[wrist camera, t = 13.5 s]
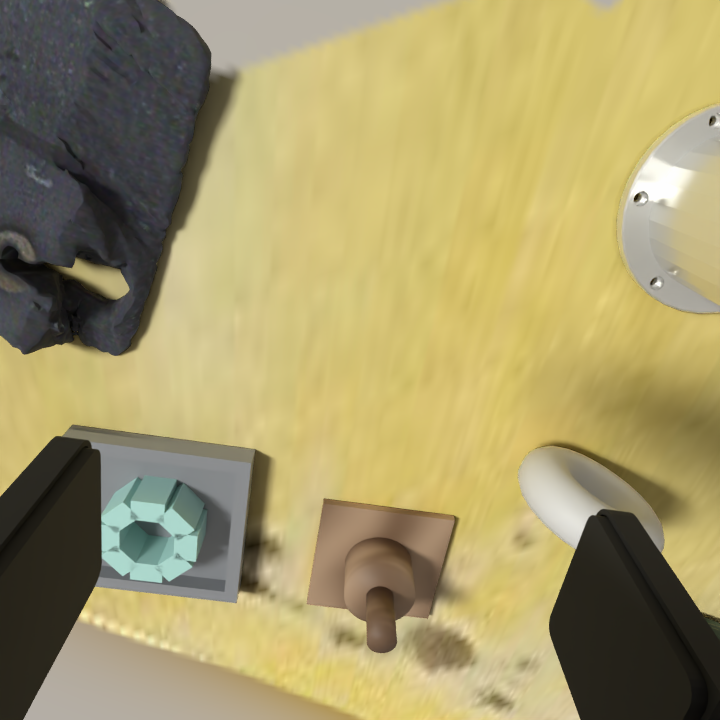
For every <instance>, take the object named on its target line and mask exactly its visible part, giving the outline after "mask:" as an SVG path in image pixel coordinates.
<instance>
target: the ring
mask: <svg viewBox="0 0 720 720" xmlns="http://www.w3.org/2000/svg"><path fill="white" fill-rule="evenodd" d="M176 486H177V479H170V478H162V477H154V476H146V475H145V476H144V478H143V480H142V481H141V480H140V479H139V478H138V477H137V478H135V479H134V480H132V481H131V482H129V483H128V484H127V485H125V486H124V487H122V488H121V489H119V490H118V491H116V492H115V493H114V495H113V497H112V498H111V500H110V501H109V503H108V505H107V506H106V508H105V510H104V511H103V513H102V514H101V526H102V559H104V560H105V561H106V562H107V563H108V564H109V565H110V566H112V567H113V568H114V569H115V570H116V571H117V572H118V573H120V574H121V575H122V576H124V575H125V574H127V573H129V572H130V579H132V580H140V581H149V582H158V583H162V581H163V579H164V577H165V578H166V579H167V580H168V581H171V580H172V579H174V578H176V577H177V576H179V575H180V574H182V573H184V572H185V571H187V570H189V569H190V568H192V567H193V564H194V562H196V560H197V557H198V554H199V552H200V549H201V546H202V543H203V540H204V537H205V534H206V522H207V509H203V507H204V505H205V503H204V502H203V501H202V500H201V499H200V498H199V497H198V496H197V495H196V494H195V493H194V492H193V491H192V490H191V489H190V488H189V487H188V486H187V485H186V484H185V483H183V484H181V485H180V486H178V487H177V488H176ZM135 520H139V521H147V522H155V523H159V524H160V525H161V526H163V527H164V528H165V529H166V530H167V531H168V532H169V533H170V534H171V535H172V536H171V537H161V536H153V535H148V534H147V533H146V532H145V531H144V530H143V529H141V528H140V527H139V526H138V525H137V524H136V523H135V522H134V521H135Z"/></svg>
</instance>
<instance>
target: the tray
mask: <svg viewBox="0 0 720 720" xmlns="http://www.w3.org/2000/svg"><path fill="white" fill-rule="evenodd" d="M62 437H69V438H76V439H84V440H89V441H90V443H91V445H92V449H98V450H99V451H100V454H101V514H102V513H103V511H104V510H105V508H106V506H107V505H108V503H109V501H110V500H111V498H112V497H113V495H114V493H115V492H116V491H118V490H119V489H121V488H122V487H124V486H125V485H127V484H128V483H129V482H131V481H132V480H134V479H135V478H137V477H138V478H139V479H140V480H141V481H142V480H143V478H144V476H145V475H146V476H154V477H162V478H170V479H177V486H176V488H177V487H178V486H180V485H181V484H183V483H185V484H186V485H187V486H188V487H189V488H190V489H191V490H192V491H193V492H194V493H195V494H196V495H197V496H198V497H199V498H200V499H201V500H202V501H203V502H204V503H205V505H204V507H203V509H207V522H206V534H205V537H204V540H203V543H202V546H201V549H200V552H199V554H198V557H197V560H196V562H194V564H193V567H192V568H190V569H189V570H187V571H185V572H184V573H182V574H180V575H179V576H177V577H176V578H174V579H172V580H171V581H168V580H167V579H166V578H165V577H164V579H163V581H162V583H158V582H149V581H140V580H132V579H130V572H129V573H127V574H125V575H124V576H122V575H121V574H120V573H118V572H117V571H116V570H115V569H114V568H113V567H112V566H110V565H109V564H108V563H107V562H106V561H105V560H104V559H102V566H101V571H100V575H99V578H98V581H97V583H96V585H95V587H104V588H112V589H121V590H129V591H138V592H146V593H155V594H163V595H172V596H180V597H189V598H197V599H206V600H215V601H223V602H232V603H237V599H238V594H239V590H240V586H241V577H242V568H243V558H244V549H245V540H246V531H247V522H248V512H249V503H250V494H251V485H252V475H253V466H254V457H255V449H248V448H241V447H233V446H226V445H218V444H211V443H203V442H196V441H189V440H181V439H174V438H166V437H159V436H151V435H144V434H137V433H129V432H122V431H114V430H107V429H99V428H92V427H85V426H77V425H72V426H71V427H70V428H69V429H68V430H67V431H66V433H65V434H64V435H63V436H62ZM134 522H135V523H136V524H137V525H138V526H139V527H140V528H141V529H143V530H144V531H145V532H146V533H147V534H148V535H153V536H161V537H171V536H172V535H171V534H170V533H169V532H168V531H167V530H166V529H165V528H164V527H163V526H161V525H160V524H159V523H155V522H147V521H139V520H135V521H134Z"/></svg>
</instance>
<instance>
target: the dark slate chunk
mask: <svg viewBox="0 0 720 720" xmlns="http://www.w3.org/2000/svg"><path fill="white" fill-rule="evenodd" d="M210 69H211V52H210V49H209V48H208V46H207V44H206V43H205V42H204V40H203V39H202V38H201V37H200V35H199V33H198V32H197V31H196V29H195V28H193V26H191V25H190V24H189V23H188V22H187V21H185V20H184V19H182V18H181V17H179V16H177V15H176V14H175V13H174V12H173V11H172V10H170V9H169V8H168V7H166V6H165V5H163V4H162V3H160V2H159V1H158V0H0V336H2V337H3V338H4V339H5V340H7V341H8V342H9V343H10V344H11V345H12V347H15V348H18V349H20V350H21V352H22V353H23V354H24V355H25V354H29V353H32V352H35V351H37V350H39V349H42V348H46V347H51V346H54V345H56V344H59V345H62V344H64V343H68V342H72V341H73V340H74V338H73V335H78V336H79V338H80V340H81V341H82V343H83V344H84V345H86V346H93V347H95V348H97V349H99V350H100V351H102V352H109V353H110V354H111V355H114V356H117V355H119V354H120V353H122V352H123V351H125V350H126V349H128V348H129V346H131V338H132V337H133V336H134V334H135V333H136V331H137V329H138V327H139V323H140V315H141V313H142V311H143V308H144V304H145V301H146V299H147V297H148V295H149V291H150V287H151V284H152V282H153V279H154V275H155V273H156V270H157V265H156V263H157V262H158V260H159V258H160V256H161V252H162V250H163V246H162V242H163V240H164V239H165V238H166V228H167V227H168V226H169V225H170V224H171V217H172V213H173V210H174V207H175V205H176V203H177V201H178V198H179V194H180V190H181V182H182V178H183V174H182V172H181V170H182V169H183V167H184V166H185V164H186V162H187V158H188V154H189V149H190V148H189V144H190V143H191V141H192V138H193V134H194V128H195V121H196V118H197V114H198V111H199V109H200V108H201V107H202V105H203V104H204V101H205V99H206V96H207V93H208V91H209V75H210ZM76 257H77V258H82V259H86V260H89V261H91V262H93V263H96V264H102V265H106V266H111V267H115V268H118V269H121V273H122V275H123V276H124V278H125V281H126V282H127V284H128V286H129V288H130V290H129V292H128V293H127V294H126V295H125V296H123V297H121V298H120V299H117V300H112V299H106V298H104V297H103V296H101V295H99V294H95V293H93V292H91V291H89V290H87V289H85V288H84V287H83V286H82V285H81V284H80V283H79V282H77V281H76V280H63V276H62V275H60V274H59V273H58V272H56V271H55V270H53V269H50V268H48V267H47V266H45V265H43V263H47V262H48V263H50V264H53V265H58V266H63V267H69V268H72V267H73V265H74V263H75V258H76ZM71 327H72V328H71ZM71 329H72V330H73V331H75V332H74V333H73V332H72V331H71Z"/></svg>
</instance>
